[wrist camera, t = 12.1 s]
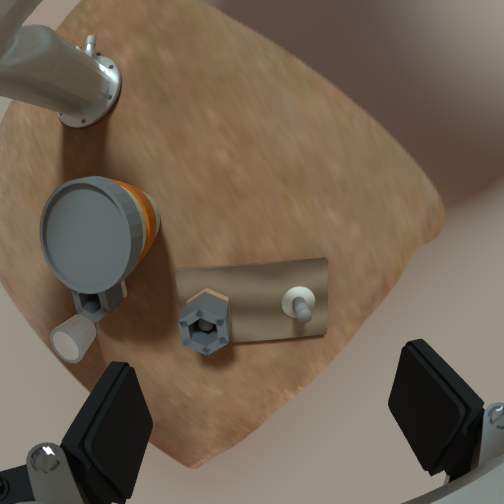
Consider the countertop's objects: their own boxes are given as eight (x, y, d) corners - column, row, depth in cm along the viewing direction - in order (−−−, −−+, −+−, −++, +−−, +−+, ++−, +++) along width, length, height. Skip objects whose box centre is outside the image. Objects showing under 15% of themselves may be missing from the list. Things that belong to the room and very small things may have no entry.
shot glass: (63, 317, 43) (43, 334, 37) (85, 305, 43) (65, 322, 36) (82, 348, 45) (65, 367, 38) (106, 338, 44) (89, 358, 38)
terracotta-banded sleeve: (185, 288, 40) (175, 308, 34) (227, 286, 40) (224, 306, 34) (193, 331, 42) (184, 356, 35) (232, 329, 42) (230, 354, 35)
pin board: (176, 268, 42) (165, 283, 35) (325, 257, 42) (338, 270, 35) (188, 339, 44) (180, 361, 38) (324, 329, 44) (334, 350, 38)
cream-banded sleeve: (90, 265, 41) (68, 278, 34) (121, 263, 41) (101, 276, 34) (99, 304, 43) (79, 322, 36) (129, 304, 43) (112, 323, 36)
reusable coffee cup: (115, 271, 42) (65, 309, 27) (86, 198, 39) (25, 207, 24) (185, 243, 41) (153, 274, 26) (154, 163, 38) (107, 153, 23)
